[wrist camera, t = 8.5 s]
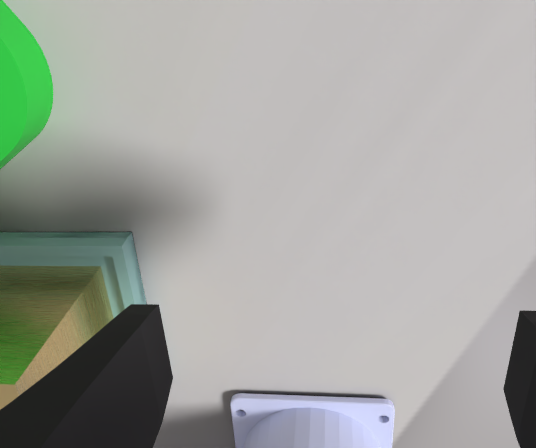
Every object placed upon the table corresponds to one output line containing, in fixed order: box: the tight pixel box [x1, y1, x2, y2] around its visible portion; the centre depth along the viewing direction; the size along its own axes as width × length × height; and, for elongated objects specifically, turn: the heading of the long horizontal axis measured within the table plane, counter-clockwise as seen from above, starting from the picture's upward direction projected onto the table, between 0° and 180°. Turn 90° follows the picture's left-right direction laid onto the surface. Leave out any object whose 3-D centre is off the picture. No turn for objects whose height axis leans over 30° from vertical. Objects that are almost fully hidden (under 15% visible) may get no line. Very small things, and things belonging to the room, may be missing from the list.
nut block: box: [0, 265, 114, 410], centre depth 21 cm, size 5×5×7 cm
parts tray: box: [0, 232, 146, 318], centre depth 24 cm, size 8×8×1 cm
